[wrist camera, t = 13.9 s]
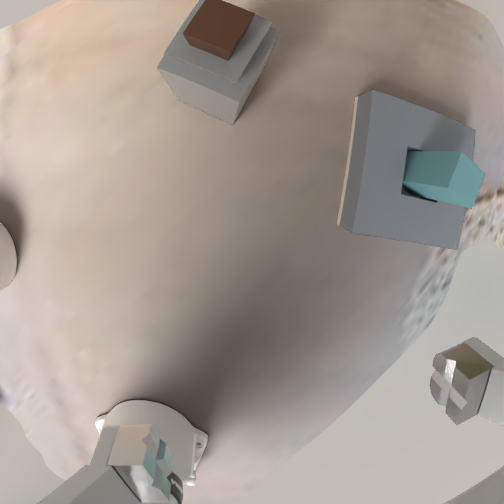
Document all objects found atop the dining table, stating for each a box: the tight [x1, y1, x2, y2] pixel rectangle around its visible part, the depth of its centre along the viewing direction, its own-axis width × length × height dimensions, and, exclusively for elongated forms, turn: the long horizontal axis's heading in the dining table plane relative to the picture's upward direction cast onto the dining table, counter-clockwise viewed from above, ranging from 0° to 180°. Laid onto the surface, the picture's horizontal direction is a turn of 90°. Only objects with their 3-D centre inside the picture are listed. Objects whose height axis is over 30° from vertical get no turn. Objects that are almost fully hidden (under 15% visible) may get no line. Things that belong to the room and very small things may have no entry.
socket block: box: [337, 90, 476, 250], centre depth 35 cm, size 16×16×5 cm
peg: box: [402, 151, 485, 209], centre depth 31 cm, size 4×4×12 cm
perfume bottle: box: [157, 0, 280, 125], centre depth 24 cm, size 7×7×18 cm
